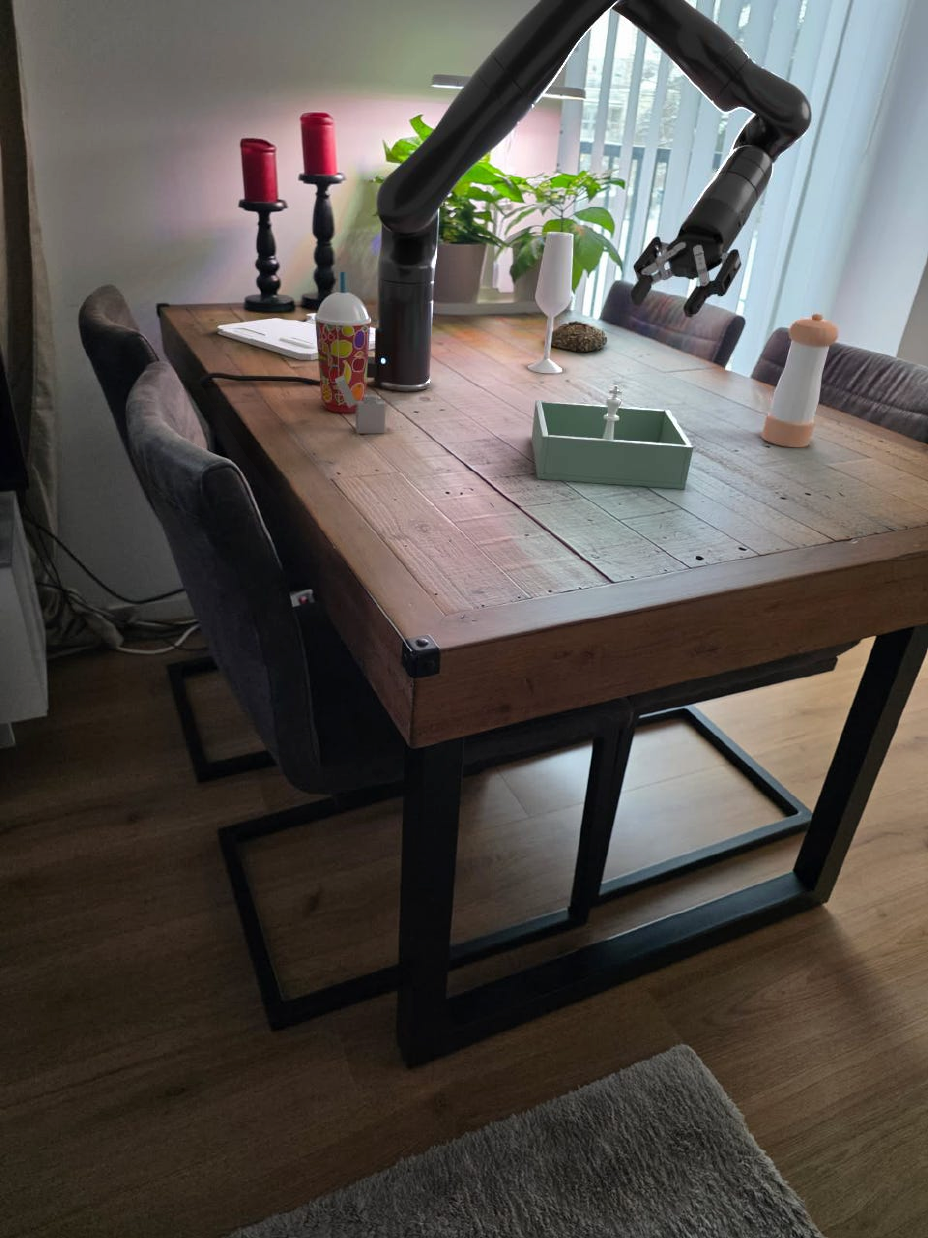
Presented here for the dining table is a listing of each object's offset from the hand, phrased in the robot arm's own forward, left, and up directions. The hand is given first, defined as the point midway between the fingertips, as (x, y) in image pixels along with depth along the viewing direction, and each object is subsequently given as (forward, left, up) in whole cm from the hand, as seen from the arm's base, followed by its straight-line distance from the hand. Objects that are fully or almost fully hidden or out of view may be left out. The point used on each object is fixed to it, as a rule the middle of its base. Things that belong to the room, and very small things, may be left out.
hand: (660, 307), depth 119 cm
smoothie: (-45, +6, -20) cm, 50 cm away
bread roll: (-3, +64, -20) cm, 67 cm away
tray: (-58, +53, -20) cm, 81 cm away
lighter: (-41, -5, -20) cm, 46 cm away
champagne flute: (-11, +41, -20) cm, 47 cm away
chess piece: (-6, -11, -19) cm, 22 cm away
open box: (-6, -11, -19) cm, 23 cm away
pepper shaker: (+25, +6, -20) cm, 32 cm away
